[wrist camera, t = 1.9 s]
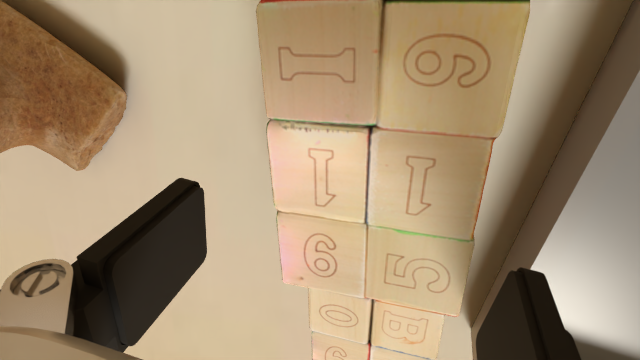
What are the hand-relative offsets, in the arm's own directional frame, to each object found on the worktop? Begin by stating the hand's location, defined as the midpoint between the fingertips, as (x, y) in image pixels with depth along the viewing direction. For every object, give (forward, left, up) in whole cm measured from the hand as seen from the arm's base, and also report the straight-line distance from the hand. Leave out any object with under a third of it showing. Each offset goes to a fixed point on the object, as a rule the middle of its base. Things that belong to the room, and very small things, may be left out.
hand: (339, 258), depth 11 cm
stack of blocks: (-1, 0, -13) cm, 13 cm away
